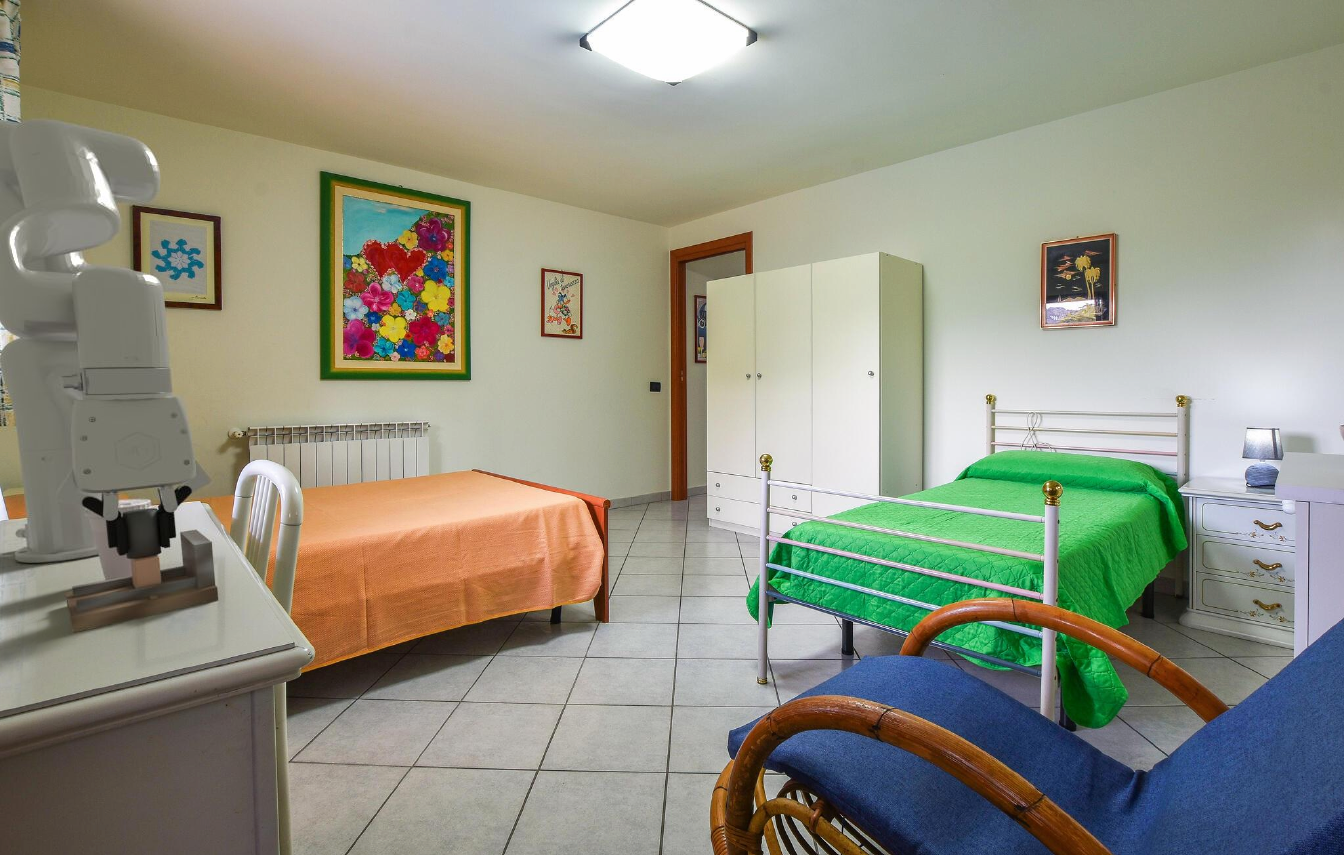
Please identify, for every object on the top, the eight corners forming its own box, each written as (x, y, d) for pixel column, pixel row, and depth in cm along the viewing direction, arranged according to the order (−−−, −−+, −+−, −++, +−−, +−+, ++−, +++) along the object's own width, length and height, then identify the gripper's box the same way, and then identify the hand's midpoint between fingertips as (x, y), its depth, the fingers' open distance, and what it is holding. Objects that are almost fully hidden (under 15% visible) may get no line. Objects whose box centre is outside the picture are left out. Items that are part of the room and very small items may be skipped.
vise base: (73, 632, 63) (66, 568, 62) (67, 605, 71) (61, 548, 70) (218, 599, 72) (213, 543, 71) (199, 579, 79) (194, 528, 79)
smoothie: (123, 571, 83) (113, 465, 82) (171, 570, 83) (161, 465, 82) (76, 587, 77) (64, 473, 76) (127, 587, 77) (116, 473, 75)
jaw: (132, 594, 69) (125, 516, 68) (127, 584, 72) (119, 510, 71) (167, 587, 71) (160, 512, 70) (160, 578, 74) (153, 505, 73)
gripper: (21, 388, 61) (42, 574, 63) (225, 383, 73) (238, 540, 74) (21, 387, 66) (40, 559, 68) (211, 383, 78) (223, 530, 79)
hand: (143, 547), depth 71 cm, fingers closed on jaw, 3 cm apart
